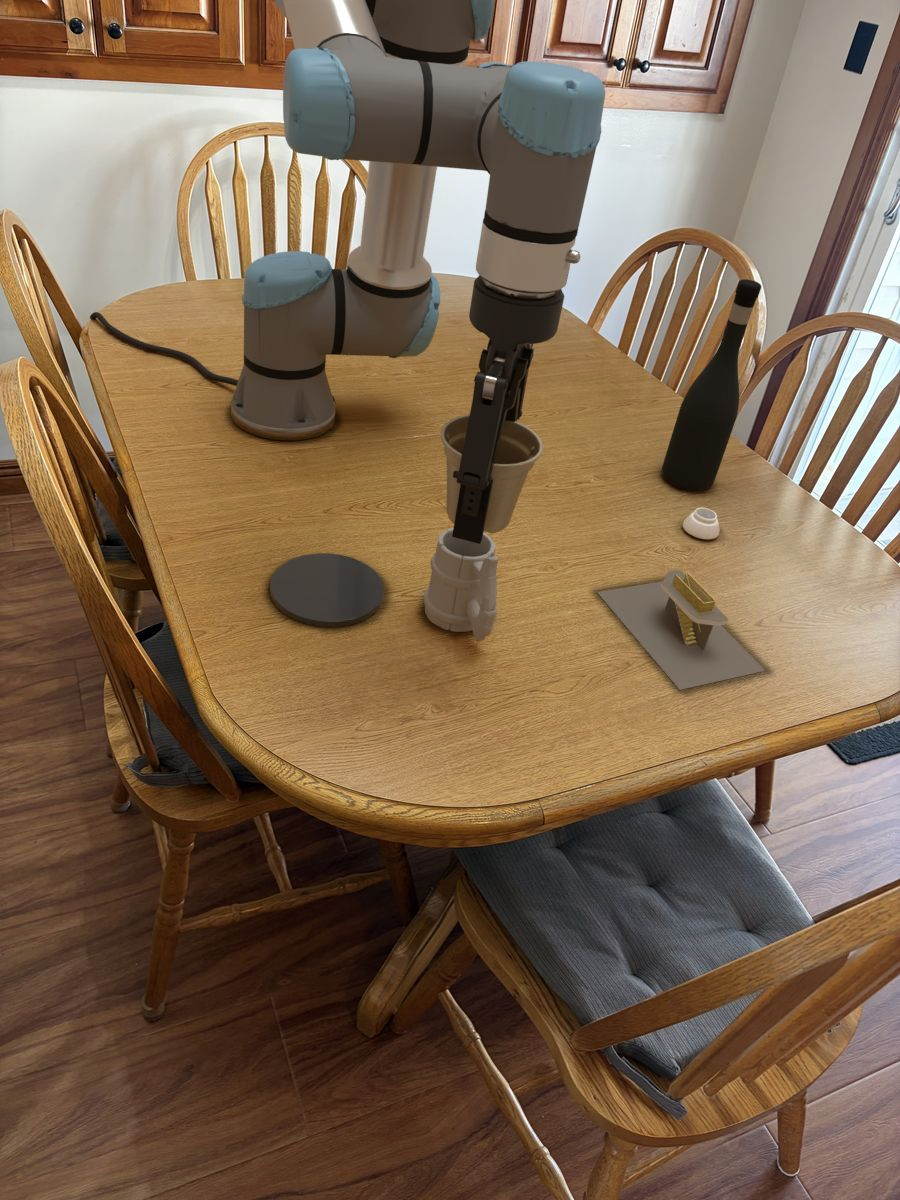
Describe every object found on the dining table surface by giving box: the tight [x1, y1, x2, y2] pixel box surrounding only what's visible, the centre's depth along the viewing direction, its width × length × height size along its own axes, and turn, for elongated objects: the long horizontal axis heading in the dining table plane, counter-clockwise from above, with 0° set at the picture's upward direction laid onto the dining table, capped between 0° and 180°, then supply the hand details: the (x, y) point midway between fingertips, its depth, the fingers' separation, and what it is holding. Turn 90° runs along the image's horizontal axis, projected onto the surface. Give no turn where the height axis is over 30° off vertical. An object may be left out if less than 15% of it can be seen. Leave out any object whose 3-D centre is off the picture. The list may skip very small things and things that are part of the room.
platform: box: [596, 569, 766, 691], centre depth 109 cm, size 12×18×7 cm, turn 23°
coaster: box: [269, 552, 385, 628], centre depth 108 cm, size 13×13×1 cm
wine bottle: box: [661, 278, 762, 492], centre depth 132 cm, size 8×8×30 cm
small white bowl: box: [681, 507, 721, 540], centre depth 129 cm, size 5×3×5 cm
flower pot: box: [440, 413, 544, 534], centre depth 88 cm, size 9×9×9 cm
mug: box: [423, 527, 499, 642], centre depth 103 cm, size 8×12×12 cm, turn 23°
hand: (478, 514), depth 91 cm, fingers closed on flower pot, 8 cm apart
